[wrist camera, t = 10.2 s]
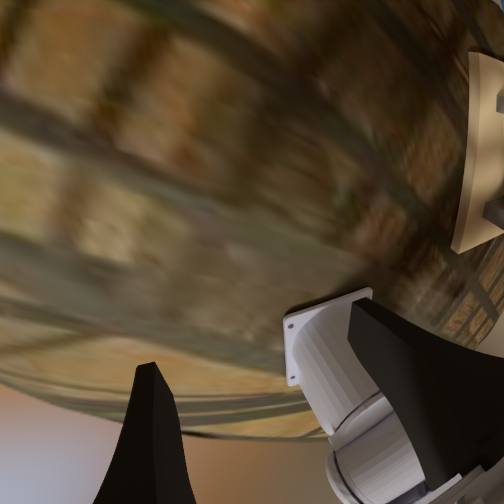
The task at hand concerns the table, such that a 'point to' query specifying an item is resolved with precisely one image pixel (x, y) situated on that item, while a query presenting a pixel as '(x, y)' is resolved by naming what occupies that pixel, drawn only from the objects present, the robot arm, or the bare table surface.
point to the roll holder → (482, 157)
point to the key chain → (500, 4)
